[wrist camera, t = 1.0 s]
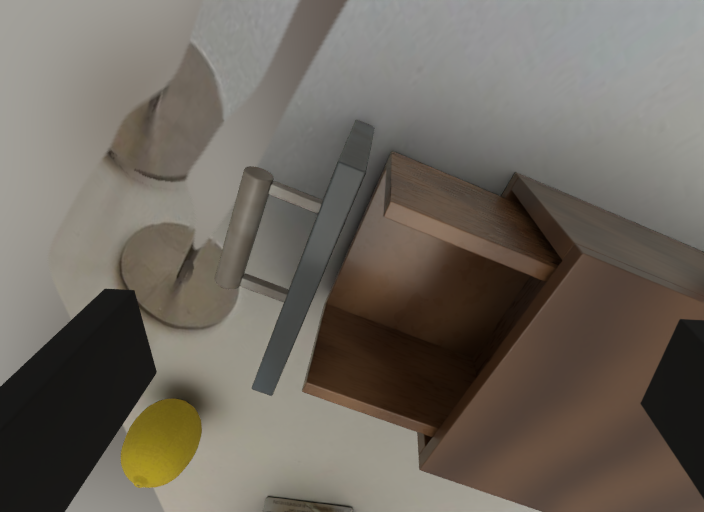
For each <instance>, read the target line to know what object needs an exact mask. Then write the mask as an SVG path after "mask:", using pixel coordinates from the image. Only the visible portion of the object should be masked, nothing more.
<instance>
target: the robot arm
mask: <svg viewBox="0 0 704 512" xmlns="http://www.w3.org/2000/svg"><path fill="white" fill-rule="evenodd" d="M156 373H157V372H156V368H155V364H154V361H153V357H152V353H151V350H150V346H149V342H148V339H147V335H146V331H145V328H144V324H143V320H142V317H141V313H140V309H139V306H138V302H137V299H136V295H135V291H134V290H119V289H104V290H103V291H102V292H101V293H100V294H99V295H98V296H97V297H96V298H94V299H93V300H92V301H91V302H90V303H89V304H88V305H87V306H86V307H85V308H84V309H83V310H82V311H81V312H80V313H78V314H77V315H76V316H75V317H74V318H73V319H72V320H71V321H70V322H69V323H68V324H67V325H66V326H65V327H64V328H62V330H60V331H59V332H58V333H57V334H56V335H55V336H54V337H53V338H52V339H51V340H50V341H49V342H48V343H47V344H45V345H44V346H43V347H42V348H41V349H40V350H39V351H38V352H37V353H36V354H35V355H34V356H33V357H32V358H31V359H29V360H28V361H27V362H26V363H25V364H24V365H23V366H22V367H21V368H20V369H19V370H18V371H17V372H16V373H14V374H13V375H12V376H11V377H10V378H9V379H8V380H7V381H6V382H5V383H4V384H3V385H2V386H1V387H0V512H65V510H66V509H67V507H68V506H69V504H70V503H71V501H72V500H73V498H74V497H75V495H76V494H77V492H78V491H79V489H80V488H81V486H82V485H83V483H84V482H85V480H86V479H87V477H88V476H89V474H90V473H91V471H92V470H93V468H94V467H95V465H96V463H97V462H98V461H99V459H100V458H101V456H102V454H103V453H104V451H105V450H106V448H107V447H108V446H109V444H110V443H111V441H112V440H113V438H114V436H115V435H116V433H117V432H118V430H119V429H120V427H121V426H122V424H123V423H124V421H125V420H126V418H127V417H128V415H129V414H130V412H131V411H132V409H133V408H134V406H135V405H136V403H137V402H138V400H139V399H140V397H141V396H142V394H143V393H144V391H145V390H146V388H147V387H148V385H149V384H150V382H151V381H152V379H153V378H154V376H155V375H156ZM640 404H641V405H642V407H643V408H644V410H645V411H646V413H647V414H648V416H649V417H650V419H651V420H652V422H653V423H654V425H655V426H656V428H657V429H658V431H659V432H660V434H661V436H662V437H663V439H664V440H665V442H666V443H667V445H668V446H669V448H670V449H671V451H672V452H673V454H674V455H675V457H676V458H677V460H678V461H679V463H680V464H681V466H682V467H683V469H684V470H685V472H686V473H687V475H688V476H689V478H690V479H691V481H692V482H693V484H694V485H695V487H696V488H697V490H698V491H699V493H700V494H701V496H702V497H703V499H704V320H690V319H680V320H679V322H678V324H677V326H676V328H675V330H674V332H673V335H672V337H671V339H670V341H669V343H668V345H667V347H666V350H665V352H664V354H663V356H662V358H661V360H660V362H659V365H658V367H657V369H656V371H655V373H654V375H653V377H652V380H651V382H650V384H649V386H648V388H647V390H646V393H645V395H644V397H643V399H642V401H641V403H640Z"/></svg>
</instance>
